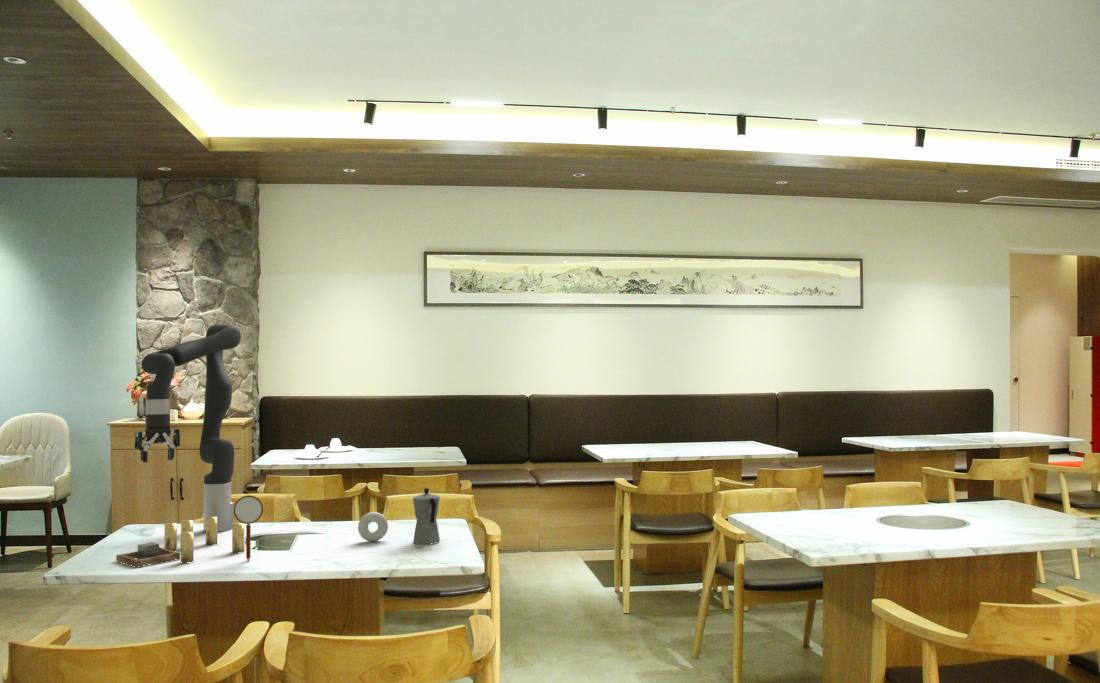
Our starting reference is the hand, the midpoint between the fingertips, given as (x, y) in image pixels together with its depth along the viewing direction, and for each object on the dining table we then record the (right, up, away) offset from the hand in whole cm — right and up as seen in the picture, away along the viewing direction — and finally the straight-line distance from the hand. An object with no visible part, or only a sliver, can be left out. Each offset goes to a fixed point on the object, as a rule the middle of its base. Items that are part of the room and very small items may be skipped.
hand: (157, 461), depth 273 cm
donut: (+72, -28, +3) cm, 77 cm away
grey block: (+8, -28, -22) cm, 36 cm away
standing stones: (+19, -28, -12) cm, 36 cm away
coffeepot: (+90, -28, +1) cm, 95 cm away
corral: (+8, -27, -22) cm, 36 cm away
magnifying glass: (+39, -27, -24) cm, 53 cm away
